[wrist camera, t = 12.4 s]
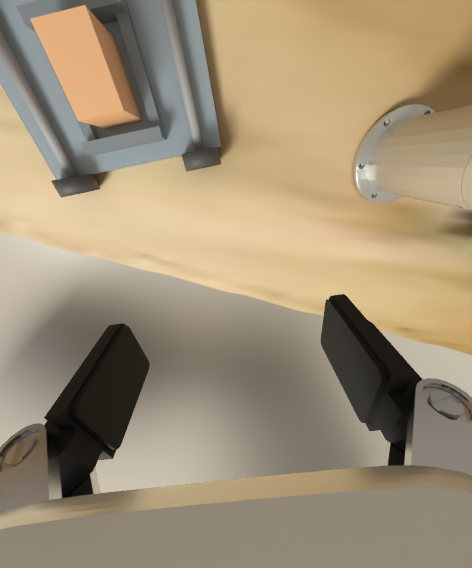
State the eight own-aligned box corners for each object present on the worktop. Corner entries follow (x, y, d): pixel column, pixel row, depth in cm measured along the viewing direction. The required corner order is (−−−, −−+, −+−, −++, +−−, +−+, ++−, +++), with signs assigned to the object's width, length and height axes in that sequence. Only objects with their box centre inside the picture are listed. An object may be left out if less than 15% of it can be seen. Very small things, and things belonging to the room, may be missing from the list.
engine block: (116, 40, 22) (85, 4, 17) (142, 120, 26) (123, 110, 21) (73, 50, 22) (29, 18, 17) (105, 128, 26) (77, 120, 21)
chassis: (182, -71, 20) (172, -134, 16) (224, 162, 30) (225, 163, 26) (-45, -14, 21) (-114, -59, 16) (72, 194, 31) (48, 199, 27)
